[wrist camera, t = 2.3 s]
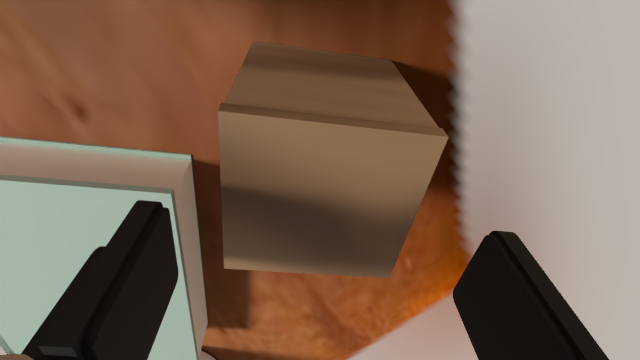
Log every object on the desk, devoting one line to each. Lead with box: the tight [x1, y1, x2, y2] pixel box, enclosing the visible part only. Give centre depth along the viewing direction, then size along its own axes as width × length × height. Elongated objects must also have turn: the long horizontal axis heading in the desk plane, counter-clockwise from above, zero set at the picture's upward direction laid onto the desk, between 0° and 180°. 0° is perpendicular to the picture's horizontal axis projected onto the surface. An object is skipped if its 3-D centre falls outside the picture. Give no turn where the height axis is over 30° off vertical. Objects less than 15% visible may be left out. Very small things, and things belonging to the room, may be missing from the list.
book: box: [0, 136, 208, 360], centre depth 20 cm, size 12×16×4 cm
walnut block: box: [218, 41, 449, 278], centre depth 13 cm, size 6×6×7 cm
